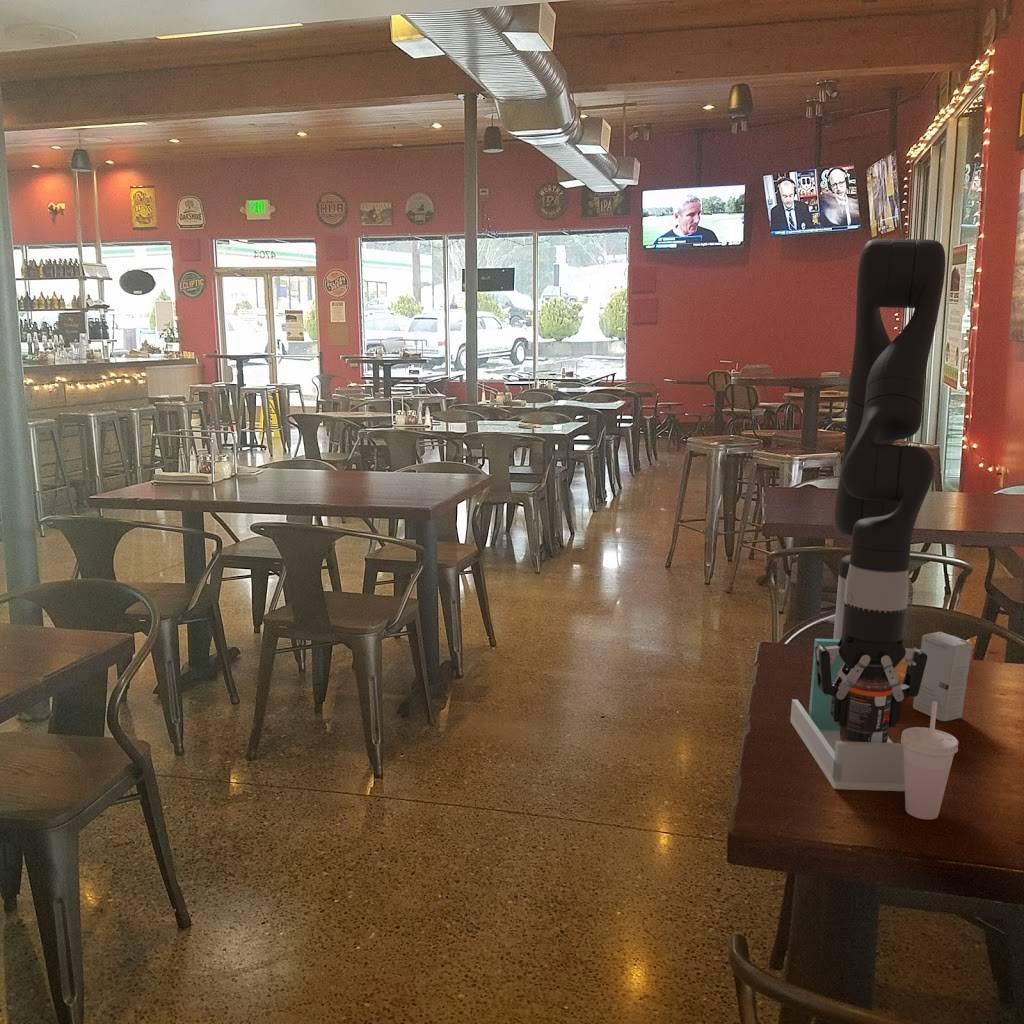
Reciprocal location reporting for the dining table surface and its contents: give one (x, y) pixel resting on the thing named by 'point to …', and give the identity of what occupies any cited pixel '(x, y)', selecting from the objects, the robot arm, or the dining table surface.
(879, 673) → the supplement bottle
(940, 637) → the skincare box
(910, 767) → the smoothie
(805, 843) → the dining table surface
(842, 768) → the lane
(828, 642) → the pusher
